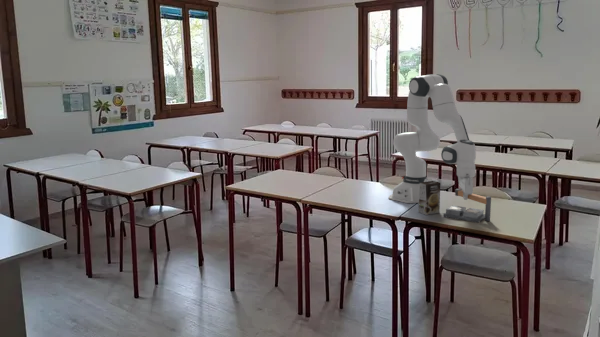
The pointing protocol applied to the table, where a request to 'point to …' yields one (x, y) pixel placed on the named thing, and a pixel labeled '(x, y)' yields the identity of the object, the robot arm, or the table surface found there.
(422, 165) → the robot arm
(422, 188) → the coffee box
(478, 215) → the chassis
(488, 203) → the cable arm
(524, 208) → the table surface
